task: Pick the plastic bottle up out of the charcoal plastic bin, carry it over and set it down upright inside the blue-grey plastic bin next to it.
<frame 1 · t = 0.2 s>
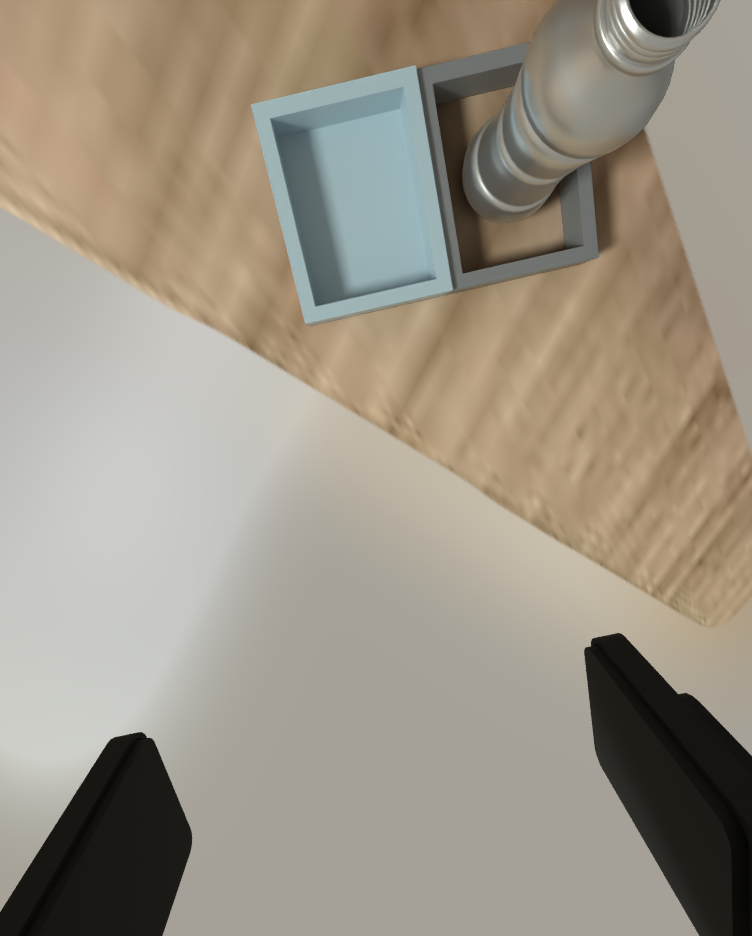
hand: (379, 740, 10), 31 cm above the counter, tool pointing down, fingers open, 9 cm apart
bin A: (498, 183, 35), on the counter
bin B: (357, 216, 35), on the counter
plastic bottle: (498, 184, 35), resting in bin A
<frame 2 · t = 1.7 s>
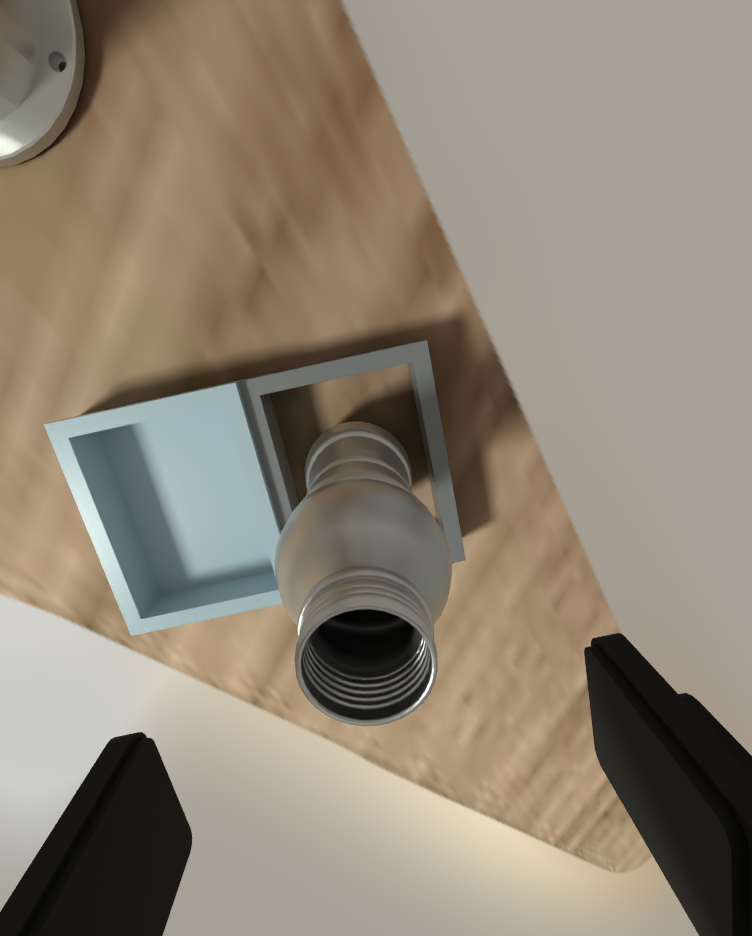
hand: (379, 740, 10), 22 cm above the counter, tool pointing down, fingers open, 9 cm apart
bin A: (358, 464, 31), on the counter
bin B: (198, 498, 31), on the counter
plastic bottle: (358, 463, 31), resting in bin A
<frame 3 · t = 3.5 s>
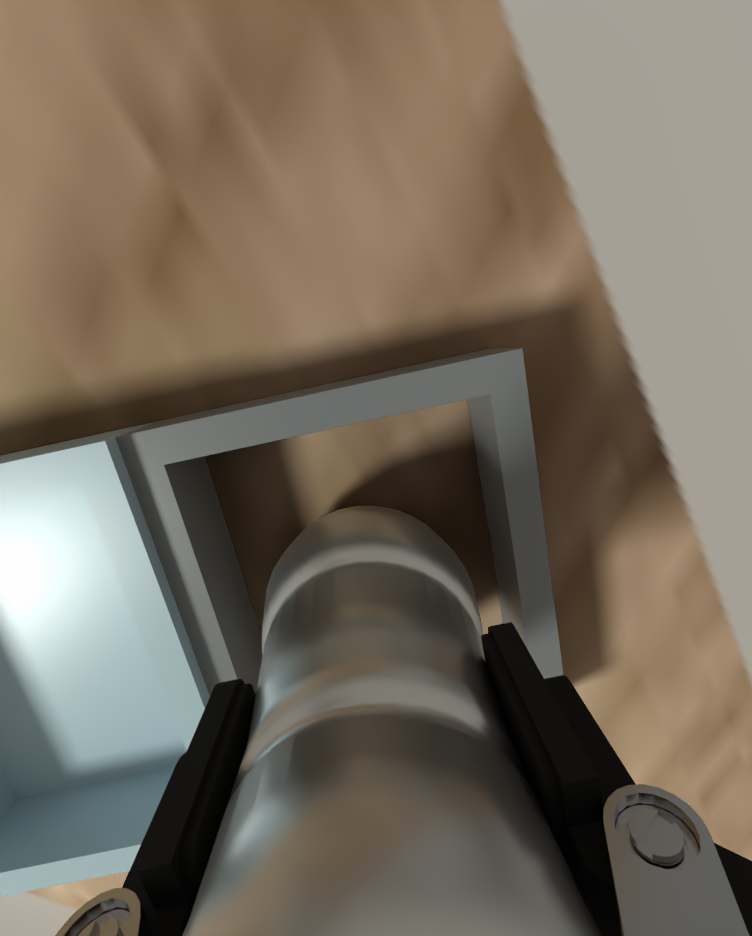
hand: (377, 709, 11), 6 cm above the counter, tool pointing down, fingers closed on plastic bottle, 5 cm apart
bin A: (370, 574, 17), on the counter
bin B: (79, 635, 17), on the counter
plastic bottle: (370, 571, 17), resting in bin A, touching gripper
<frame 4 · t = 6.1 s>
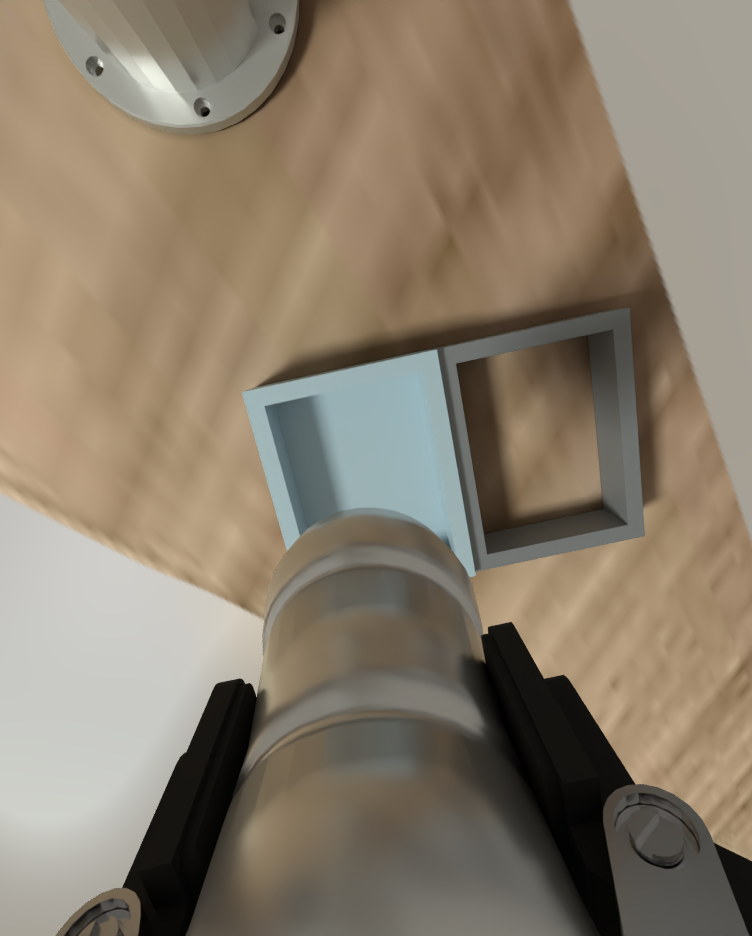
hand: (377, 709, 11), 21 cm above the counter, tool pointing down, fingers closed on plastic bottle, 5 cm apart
bin A: (528, 438, 30), on the counter
bin B: (365, 474, 30), on the counter
plastic bottle: (370, 573, 17), point 14 cm above the counter, touching gripper
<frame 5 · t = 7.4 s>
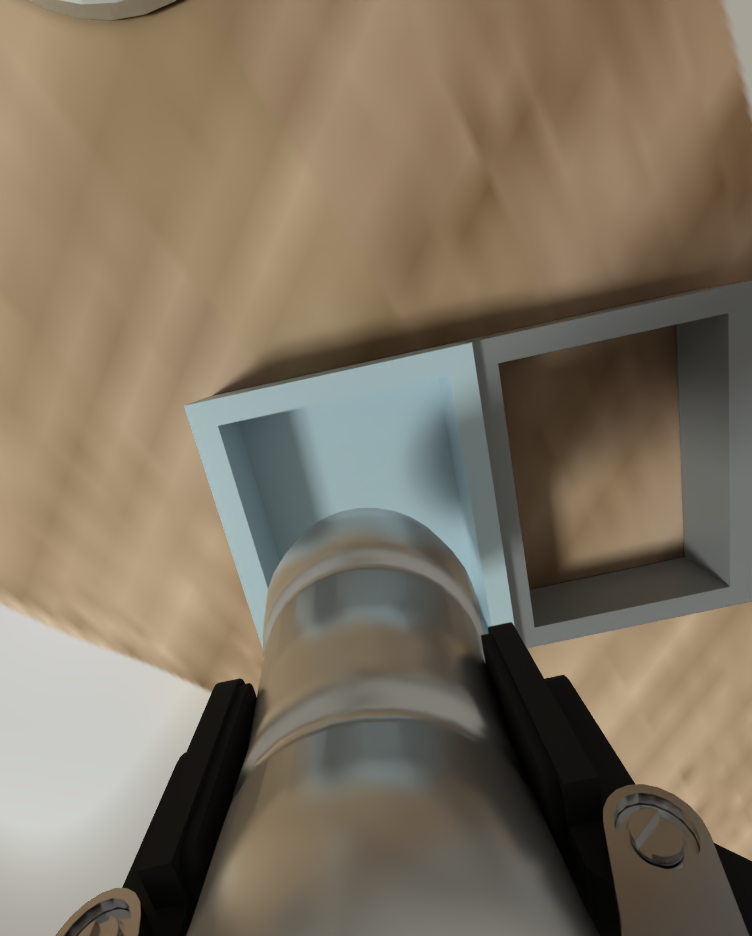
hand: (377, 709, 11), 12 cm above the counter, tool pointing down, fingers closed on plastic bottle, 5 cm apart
bin A: (588, 465, 22), on the counter
bin B: (365, 513, 22), on the counter
plastic bottle: (371, 573, 17), point 6 cm above the counter, touching gripper
when the fingers open (8 cm above the counter, at t = 8.7 s): plastic bottle stays where it is, resting on bin B.
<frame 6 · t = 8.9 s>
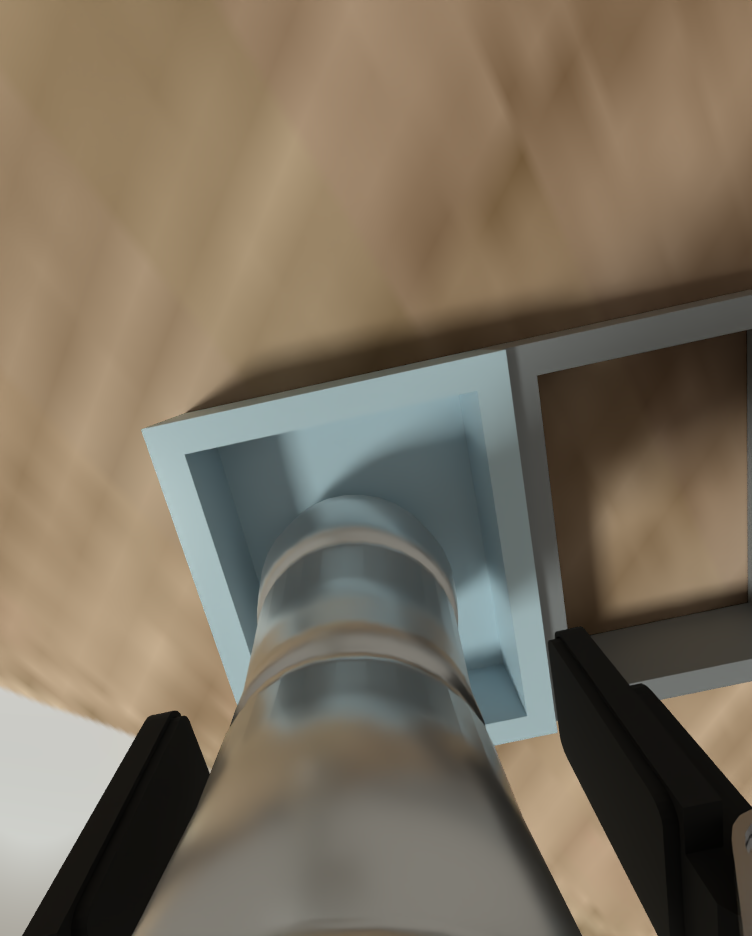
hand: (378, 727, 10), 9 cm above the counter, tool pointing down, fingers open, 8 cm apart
bin A: (636, 495, 18), on the counter
bin B: (369, 552, 19), on the counter
plastic bottle: (359, 557, 18), resting on bin B
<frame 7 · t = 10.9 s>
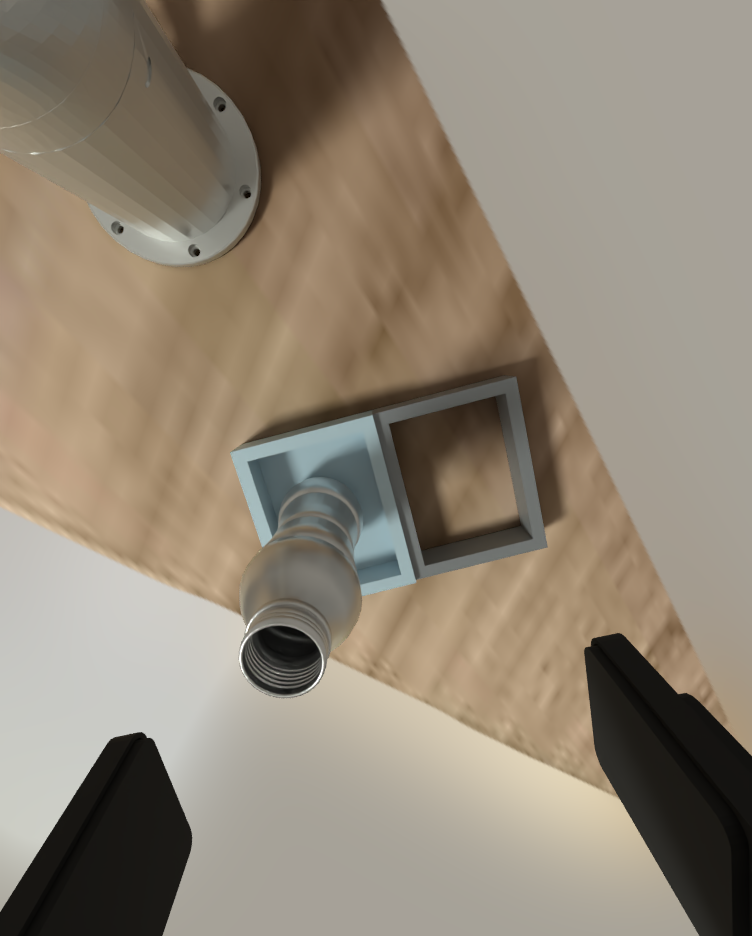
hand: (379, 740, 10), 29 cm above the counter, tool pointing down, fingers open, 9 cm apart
bin A: (456, 474, 39), on the counter
bin B: (330, 506, 39), on the counter
plastic bottle: (324, 508, 39), resting on bin B
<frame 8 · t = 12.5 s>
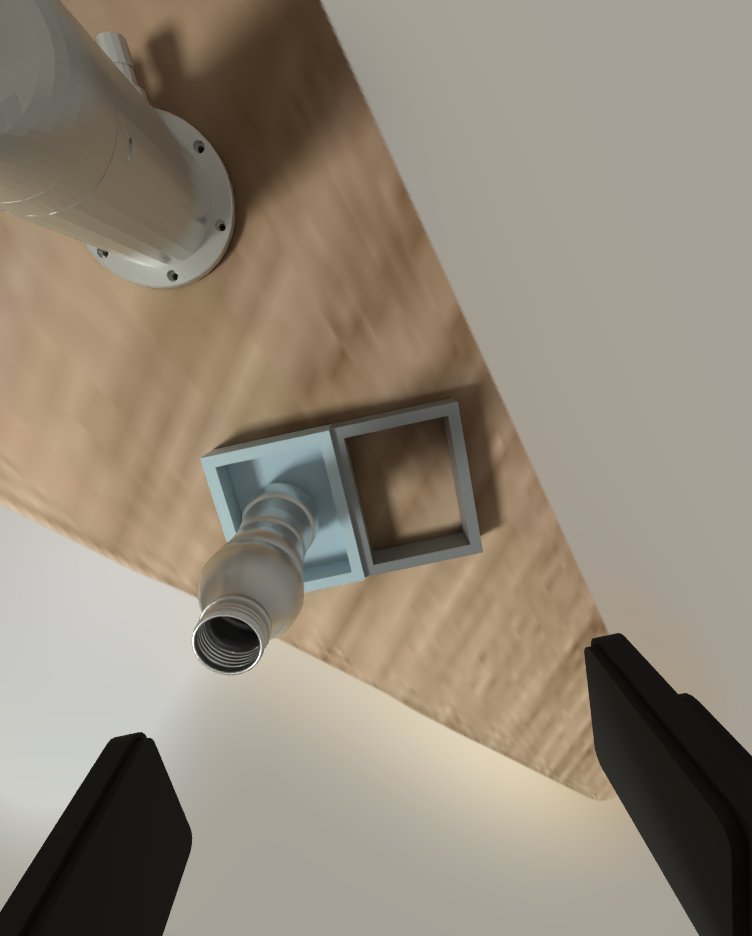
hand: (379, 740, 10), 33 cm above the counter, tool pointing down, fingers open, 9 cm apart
bin A: (405, 483, 43), on the counter
bin B: (291, 508, 43), on the counter
plastic bottle: (286, 509, 43), resting on bin B
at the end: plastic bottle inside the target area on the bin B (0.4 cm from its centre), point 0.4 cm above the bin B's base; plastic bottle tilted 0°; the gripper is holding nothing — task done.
